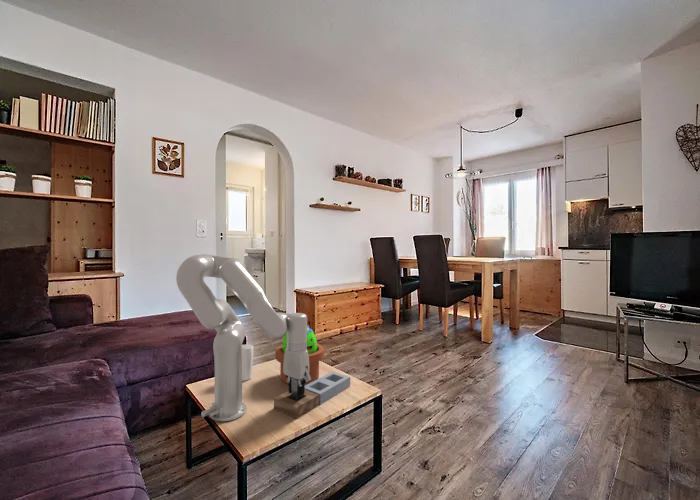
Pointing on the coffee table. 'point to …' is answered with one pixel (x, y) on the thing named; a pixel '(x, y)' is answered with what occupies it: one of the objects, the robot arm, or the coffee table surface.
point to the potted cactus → (313, 352)
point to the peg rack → (328, 386)
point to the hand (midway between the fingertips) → (296, 393)
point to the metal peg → (294, 389)
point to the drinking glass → (247, 361)
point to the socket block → (296, 404)
